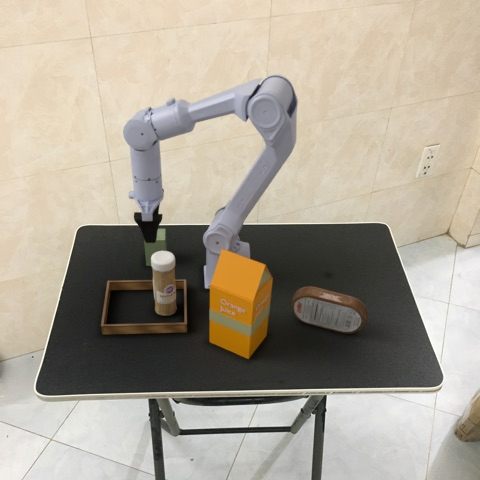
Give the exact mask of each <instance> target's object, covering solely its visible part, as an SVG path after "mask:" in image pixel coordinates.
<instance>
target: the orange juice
mask: <svg viewBox="0 0 480 480" xmlns="http://www.w3.org/2000/svg"><path fill="white" fill-rule="evenodd" d="M273 279H274V277H273V275H272V273H271V272H270V270H269V268H268V266H267V264H265V263H263V262H260V261H257V260H255V259H252V258H250V259H249V258H247V257H244V256H241V255H238V254H236V253H233V252H230V251H228V250H225V249H222V250H221V254H220V257H219V260H218V263H217V266H216V269H215V272H214V275H213V278H212V281H211V284H210V289H209V309H208V310H209V311H208V312H209V314H208V315H209V316H208V320H209V335H208V337H209V339H208V340H209V342H208V343H210V344H213V345H216V346H218V347H220V348H222V349H224V350H227V351H229V352H231V353H234V354H235V355H238V356H240V357H243V358H245V359H247V360H250V358H251V357H252V355H253V354H254V353H255V351H256V350H257V349H258V347H259V346H260V345H261V344H262V342H263V341H264V340H265V338H266V337H267V336H268V335H267V334H268V325H269V318H270V317H269V316H270V310H271V299H272V290H273V281H274V280H273Z"/></svg>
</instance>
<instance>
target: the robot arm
mask: <svg viewBox="0 0 480 480" xmlns="http://www.w3.org/2000/svg"><path fill="white" fill-rule="evenodd" d="M260 82H261V83H260ZM298 104H299V99H298V96H297V94H296V90H295V87H294V85H293V83H292V82H291V81H290V79H289V78H287V77H286V76H283V75H281V74H271V75H268V76H266V77H265V78H264V79H263V78H262V77H259V78H253V79H252V80H249V81H246V82H244V83H241V84H239V85H236V86H233V87H231V88H229V89H225V90H223V91H221V92H218V93H215V94H213V95H210V96H208V97H205V98H202V99H200V100H197V101H195V102H192V103H191V102H189V101H187V100H185V99H183V98H182V99H177V100H176V98H175V97H172V98H169V99H167V101H166V102H165V104H162V105H160V106H156V107H153V108H152V106H148V107H146V108H144V109H140V110H138V111H137V112H135V114H134V115H133V116H131V118H130V119H129V120H128V121H127V122H126V123H125V125H124V126H123V129H122V135H123V138H124V141H125V143H126V144H127V145H128V146H129V155H130V156H129V157H130V166H131V174H132V184H133V190H130V191H128V199H129V200H134V201H135V203H136V205H137V206H138V208H139V210H140V211H136V212H135V211H134V212H133V220H134V222H135V223H136V224H137V226H138V227H139V229H140V232H141V234H142V237H143V241H144V240H145V242H146V243H156V239H157V231H158V229H159V227H160V224H161V223H162V220H163V213H159V212H160V205H161V203H162V201H163V200H164V198H165V190H164V187H163V177H162V176H163V175H162V161H161V160H162V158H161V146H160V145H161V144H160V141H165V140H169V139H171V138H175V137H178V136H181V135H185V134H188V133H191V132H193V131H194V129H195V127H196V124H197V123H201V122H205V121H208V120H212V119H216V118H221V117H225V116H228V115H232V114H234V115H235V116H237V117H238V118H239V119H240V120H241V121H242V122H244V123H247V121H248V120H249V121H250V122H251V124H252V126H253V127H254V128H255V129H256V131H257V132H258V133H259V135H260V136H261V138H263V142H264V144H265V145H264V147H263V148H262V150H261V152H260V153H259V154H258V156H257V158H256V159H255V161H254V162H253V164H252V165H251V167H250V169H249V170H248V171H247V173H246V175H245V177H244V178H243V180H242V181H241V182H240V184H239V185H238V187H237V188H236V190H235V192H234V194H233V195H232V196H231V198H230V199H229V200H228V202H227V203H226V204H225V205H224V206H222V207H220V208H218V209H217V210H216V212H215V213H214V217H213V219H212V221H211V223H210V224H209V226H208V228H207V230H206V231H205V232H204V233H203V236H202V243H203V246H204V247H205V265H203V276H204V277H203V278H204V279H203V280H204V289H205V290H210V284H211V281H212V278H213V275H214V272H215V269H216V266H217V263H218V260H219V257H220V254H221V250H222V249H225V250H228V251H230V252H233V253H236V254H238V255H241V256H244V257H247V258H249V259H251V248H250V247H251V246H250V243H249V242H247V241H246V242H245V241H242V240H241V239H240V235H239V234H240V231H241V230H242V228H243V226H244V223H245V221H246V219H247V218H248V217H249V215H250V213H251V212H252V211H253V209H254V208H255V206H256V205H257V203H258V201H260V200H261V198H262V197H263V194H264V193H265V192H266V190H267V189H268V187H269V186H270V185H271V183H272V182H273V180H274V178H276V176H277V174H278V173H279V171H280V170H281V168H282V167H283V166H284V164H285V163H286V161H287V160H288V159H289V157H290V156H291V154H292V152H293V151H294V148H295V146H296V144H297V127H298V126H297V125H298V124H297V117H298V116H297V115H298Z"/></svg>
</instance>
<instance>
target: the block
mask: <svg viewBox="0 0 480 480" xmlns="http://www.w3.org/2000/svg"><path fill="white" fill-rule="evenodd" d="M166 231H167V230H166V228H158V231H157V239H156V243H146V242H145V240H144V239H143V243H144V244H143V245H144V255H145V266H146V267H152V266H151V256H152V255H153V254H154V253H156V252H158V251H168V248H167V236H166V235H167V233H166Z"/></svg>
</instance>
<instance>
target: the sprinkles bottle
mask: <svg viewBox="0 0 480 480" xmlns="http://www.w3.org/2000/svg"><path fill="white" fill-rule="evenodd" d="M150 267H151V269H152V280H153V288H154V290H153V298H154V311H155V313H156V315H159V316H161V317H170V316H173V315H174V314H175V313H176V312H177V310H178V307H177V289H176V284H175V280H176V272H175V271H176V269H175V267H176V257H175V254H174V253H173V252H172V251H168V250H167V251H158V252H156V253H154V254H153V255H152V256H151V266H150Z"/></svg>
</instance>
